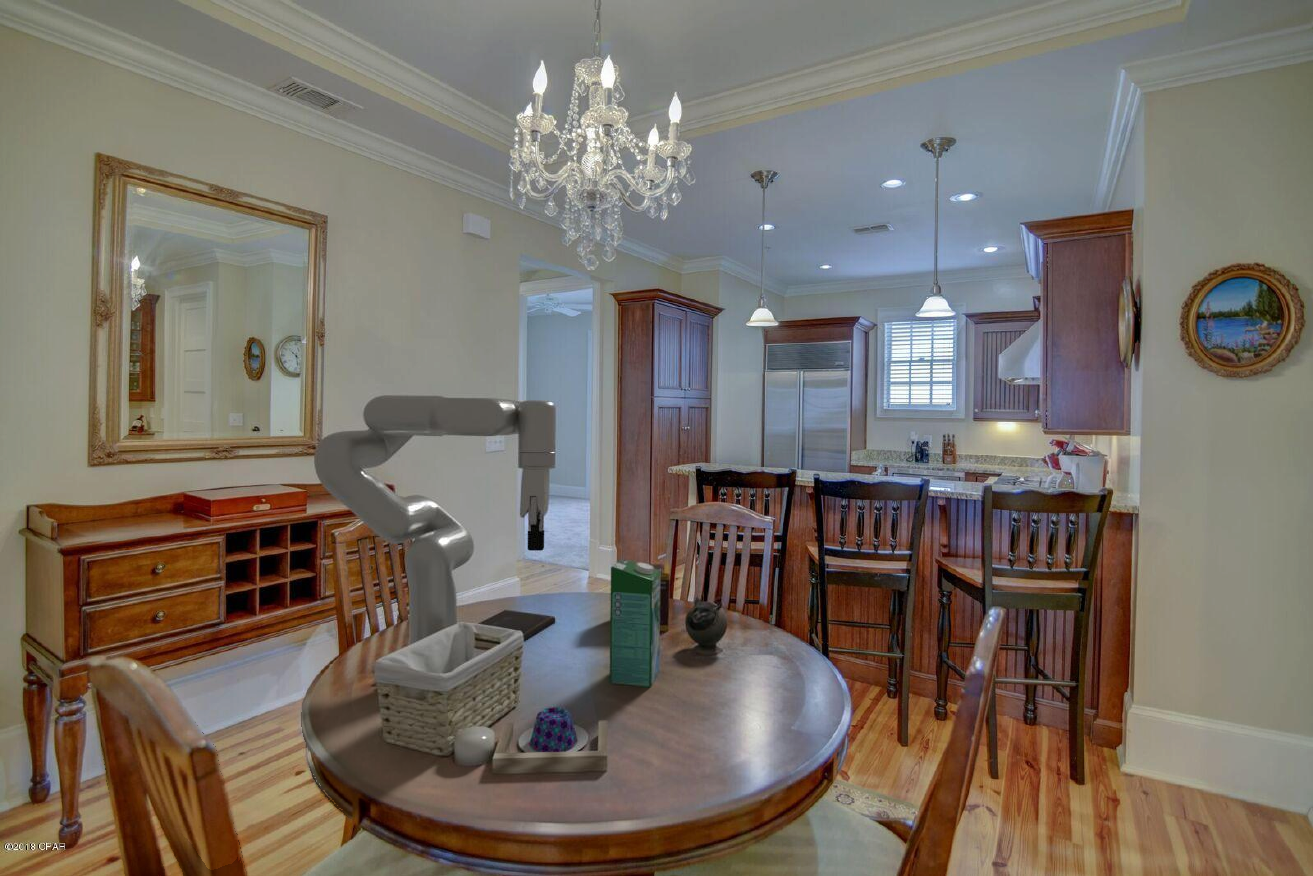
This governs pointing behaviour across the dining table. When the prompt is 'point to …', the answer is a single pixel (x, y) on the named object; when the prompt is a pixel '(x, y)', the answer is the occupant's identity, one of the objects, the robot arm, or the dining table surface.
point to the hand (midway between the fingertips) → (535, 549)
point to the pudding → (553, 733)
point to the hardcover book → (516, 625)
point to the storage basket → (447, 685)
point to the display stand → (548, 757)
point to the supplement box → (664, 595)
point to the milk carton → (634, 623)
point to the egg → (474, 746)
